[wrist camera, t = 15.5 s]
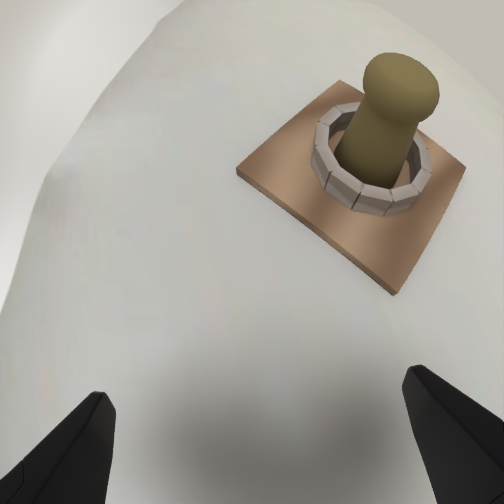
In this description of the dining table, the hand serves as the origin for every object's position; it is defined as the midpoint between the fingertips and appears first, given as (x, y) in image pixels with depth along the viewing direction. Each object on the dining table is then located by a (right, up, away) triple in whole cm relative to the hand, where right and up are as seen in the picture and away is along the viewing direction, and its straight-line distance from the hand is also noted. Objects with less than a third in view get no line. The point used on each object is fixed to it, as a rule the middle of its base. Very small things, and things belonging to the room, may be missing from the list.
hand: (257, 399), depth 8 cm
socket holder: (+10, +11, +18) cm, 24 cm away
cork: (+10, +12, +17) cm, 23 cm away
